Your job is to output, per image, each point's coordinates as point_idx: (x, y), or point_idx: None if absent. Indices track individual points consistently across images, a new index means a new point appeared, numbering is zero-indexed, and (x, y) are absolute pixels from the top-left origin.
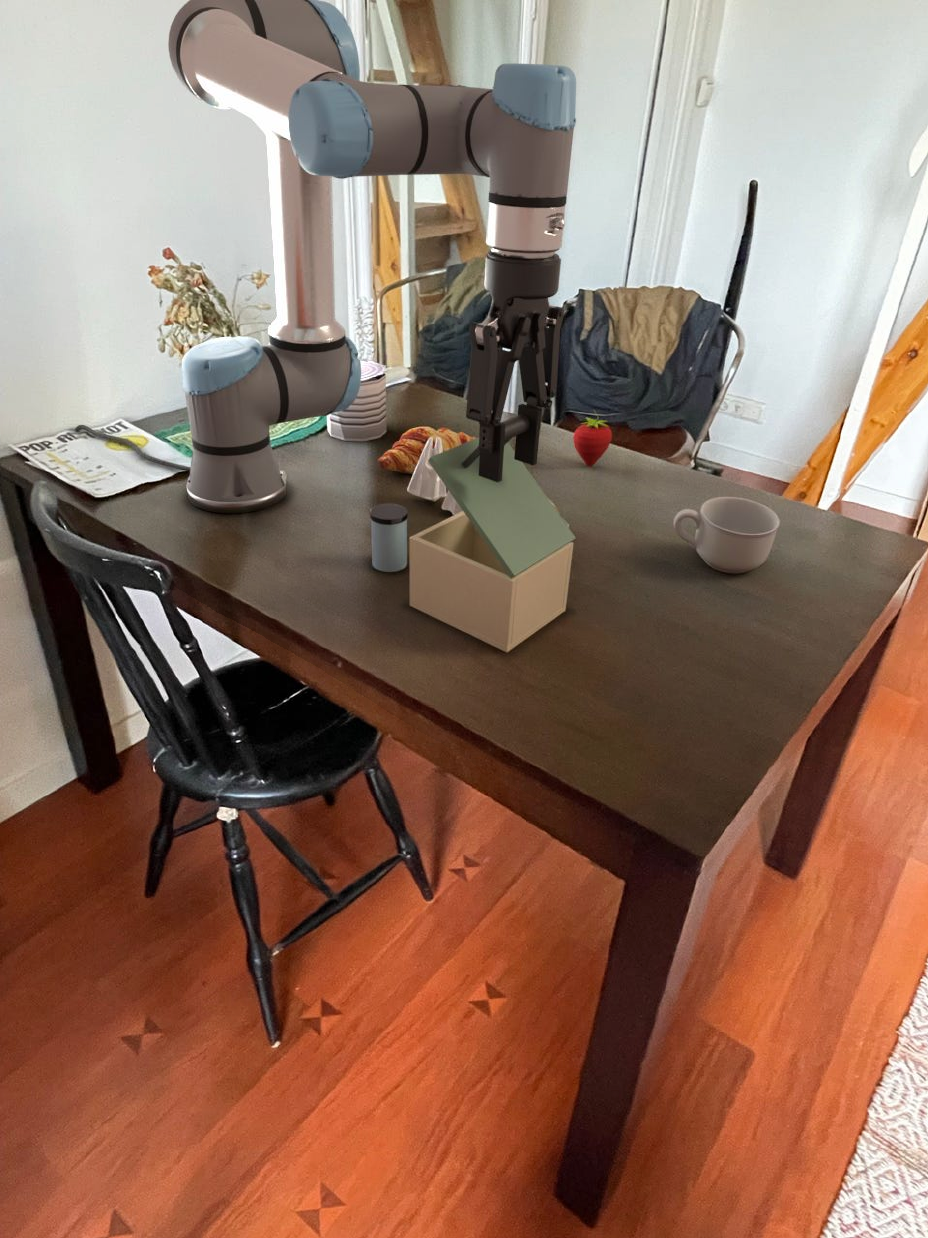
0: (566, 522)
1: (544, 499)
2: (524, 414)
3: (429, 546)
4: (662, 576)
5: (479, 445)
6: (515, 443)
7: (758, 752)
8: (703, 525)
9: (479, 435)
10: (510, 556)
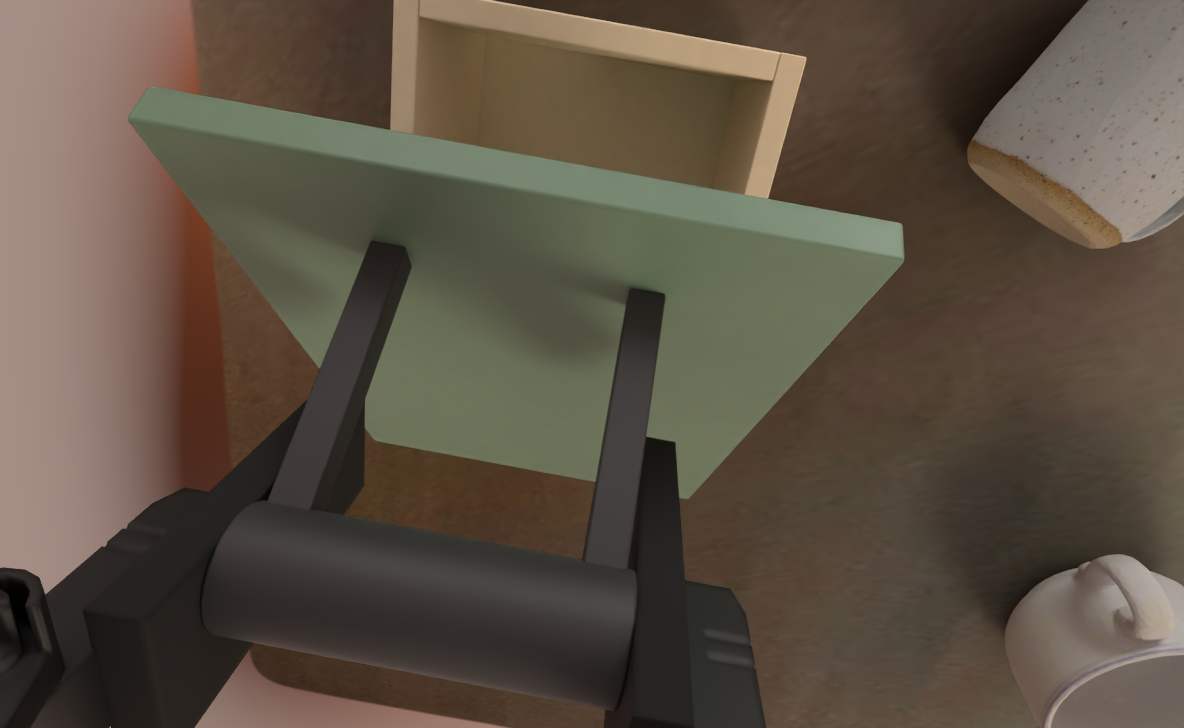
0: (1176, 217)
1: (706, 451)
2: (622, 702)
3: (391, 98)
4: (947, 508)
5: (146, 516)
6: (640, 488)
7: (466, 709)
8: (1101, 644)
9: (87, 561)
10: (394, 428)
